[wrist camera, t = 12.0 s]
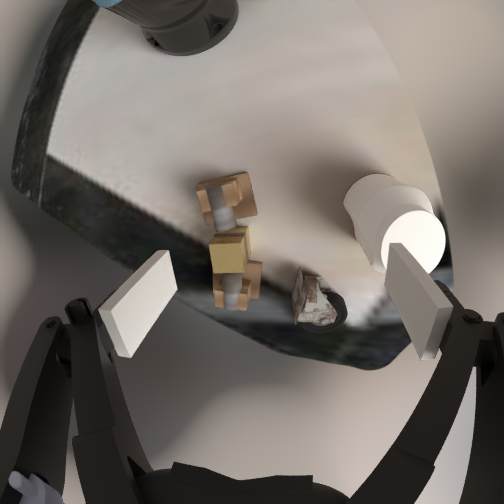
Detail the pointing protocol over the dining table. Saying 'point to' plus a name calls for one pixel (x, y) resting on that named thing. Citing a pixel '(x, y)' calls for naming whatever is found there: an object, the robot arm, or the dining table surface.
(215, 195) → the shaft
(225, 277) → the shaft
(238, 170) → the dining table surface
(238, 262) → the block
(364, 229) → the jar
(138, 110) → the dining table surface
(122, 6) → the robot arm
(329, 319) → the caster wheel
